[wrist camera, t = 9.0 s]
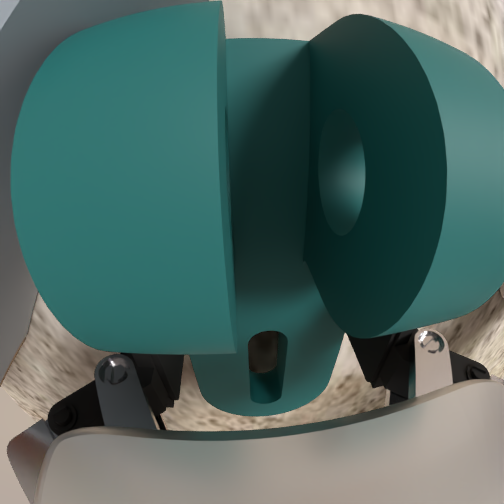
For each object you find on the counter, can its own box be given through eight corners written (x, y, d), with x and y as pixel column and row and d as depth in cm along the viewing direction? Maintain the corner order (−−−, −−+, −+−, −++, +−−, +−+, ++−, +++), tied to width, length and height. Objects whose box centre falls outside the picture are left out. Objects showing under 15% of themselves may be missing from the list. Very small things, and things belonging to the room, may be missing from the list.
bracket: (162, 60, 7) (4, -11, 1) (351, 61, 8) (540, 41, 1) (210, 389, 16) (209, 500, 10) (311, 381, 17) (337, 487, 10)
